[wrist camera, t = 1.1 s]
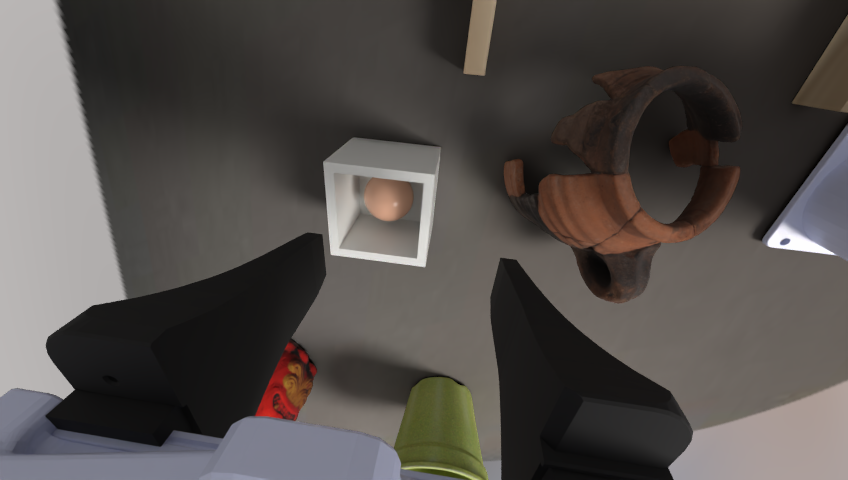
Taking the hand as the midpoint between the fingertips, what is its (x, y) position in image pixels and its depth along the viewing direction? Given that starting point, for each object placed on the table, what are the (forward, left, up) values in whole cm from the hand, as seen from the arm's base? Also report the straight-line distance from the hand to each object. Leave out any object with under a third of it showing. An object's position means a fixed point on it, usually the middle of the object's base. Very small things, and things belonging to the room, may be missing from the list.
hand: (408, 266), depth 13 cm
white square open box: (+2, 0, -9) cm, 10 cm away
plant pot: (-3, +22, -10) cm, 25 cm away
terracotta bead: (+2, 0, -7) cm, 8 cm away
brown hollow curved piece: (-10, -2, -10) cm, 14 cm away
